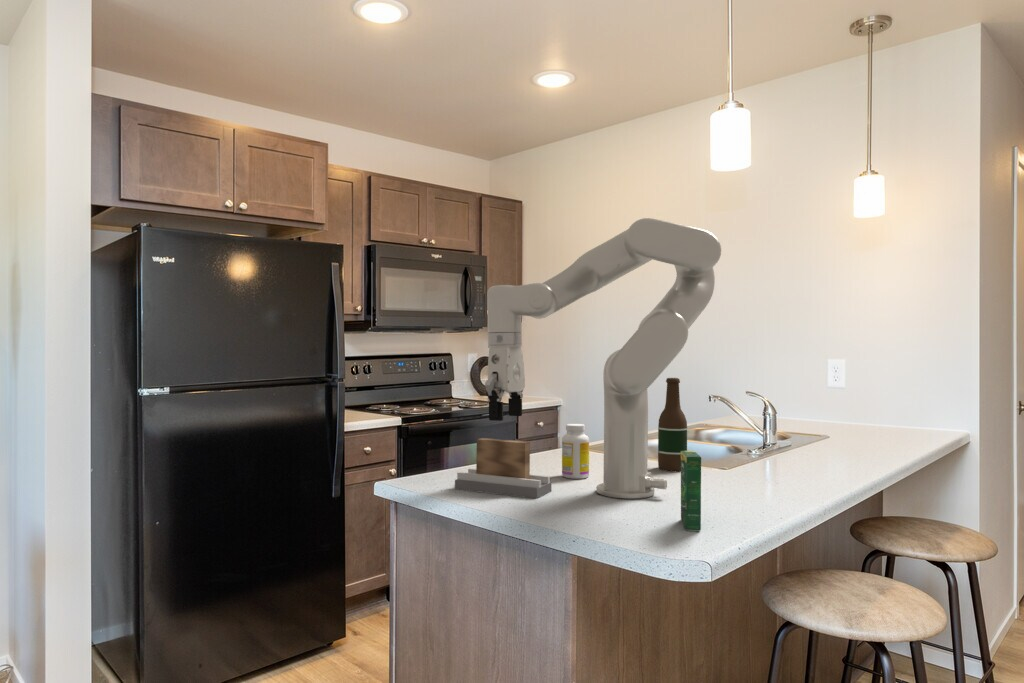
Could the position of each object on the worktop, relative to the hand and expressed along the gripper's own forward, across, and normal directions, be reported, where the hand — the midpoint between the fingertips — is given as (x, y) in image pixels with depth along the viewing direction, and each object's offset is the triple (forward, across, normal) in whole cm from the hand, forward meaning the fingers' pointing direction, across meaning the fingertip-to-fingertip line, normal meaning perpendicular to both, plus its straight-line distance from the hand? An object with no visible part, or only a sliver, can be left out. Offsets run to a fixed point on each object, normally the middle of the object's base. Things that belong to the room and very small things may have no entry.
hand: (506, 418), depth 149 cm
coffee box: (+17, -11, -42) cm, 47 cm away
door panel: (+14, 0, +1) cm, 14 cm away
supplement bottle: (+17, +22, -8) cm, 28 cm away
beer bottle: (+17, +44, -27) cm, 54 cm away
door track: (+16, 0, +1) cm, 16 cm away
